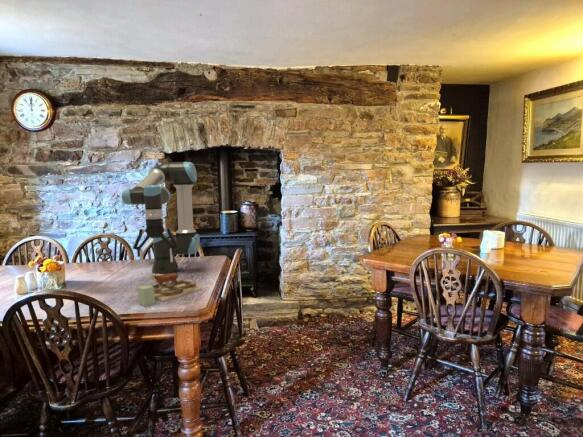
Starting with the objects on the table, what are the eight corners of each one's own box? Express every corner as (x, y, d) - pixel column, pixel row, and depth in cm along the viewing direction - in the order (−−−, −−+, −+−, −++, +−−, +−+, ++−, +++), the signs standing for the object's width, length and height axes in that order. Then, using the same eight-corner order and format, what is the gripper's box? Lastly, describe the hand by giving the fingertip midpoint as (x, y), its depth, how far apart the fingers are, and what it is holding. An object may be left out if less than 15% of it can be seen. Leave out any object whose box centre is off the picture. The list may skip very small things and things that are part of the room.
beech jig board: (140, 293, 195) (140, 288, 195) (179, 282, 212) (179, 278, 211) (162, 301, 182) (162, 296, 182) (201, 289, 199) (201, 284, 198)
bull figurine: (150, 288, 194) (149, 272, 193) (178, 285, 199) (177, 269, 197) (150, 291, 190) (149, 274, 189) (179, 287, 195) (178, 271, 193)
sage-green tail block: (139, 304, 180) (137, 287, 178) (149, 301, 183) (148, 284, 182) (144, 306, 176) (143, 289, 175) (154, 303, 180) (153, 286, 179)
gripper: (124, 220, 178) (127, 265, 181) (180, 217, 183) (183, 262, 185) (128, 218, 186) (131, 262, 188) (182, 216, 190) (184, 259, 192)
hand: (156, 262), depth 186 cm, fingers open, 13 cm apart
